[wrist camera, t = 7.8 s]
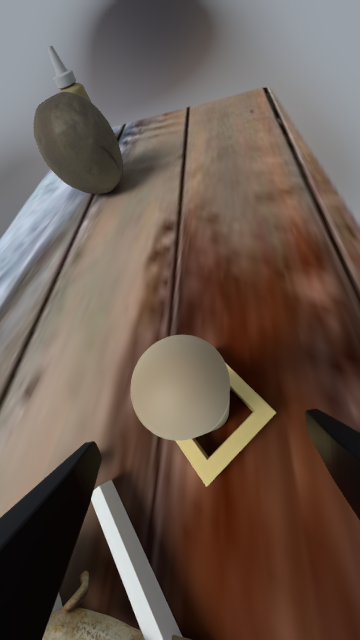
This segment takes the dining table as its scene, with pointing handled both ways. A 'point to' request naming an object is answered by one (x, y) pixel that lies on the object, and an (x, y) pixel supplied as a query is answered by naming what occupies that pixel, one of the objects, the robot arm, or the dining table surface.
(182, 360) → the post
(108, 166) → the grey egg-shaped stone
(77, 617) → the figurine
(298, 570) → the dining table surface
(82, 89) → the squeeze bottle
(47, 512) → the robot arm
